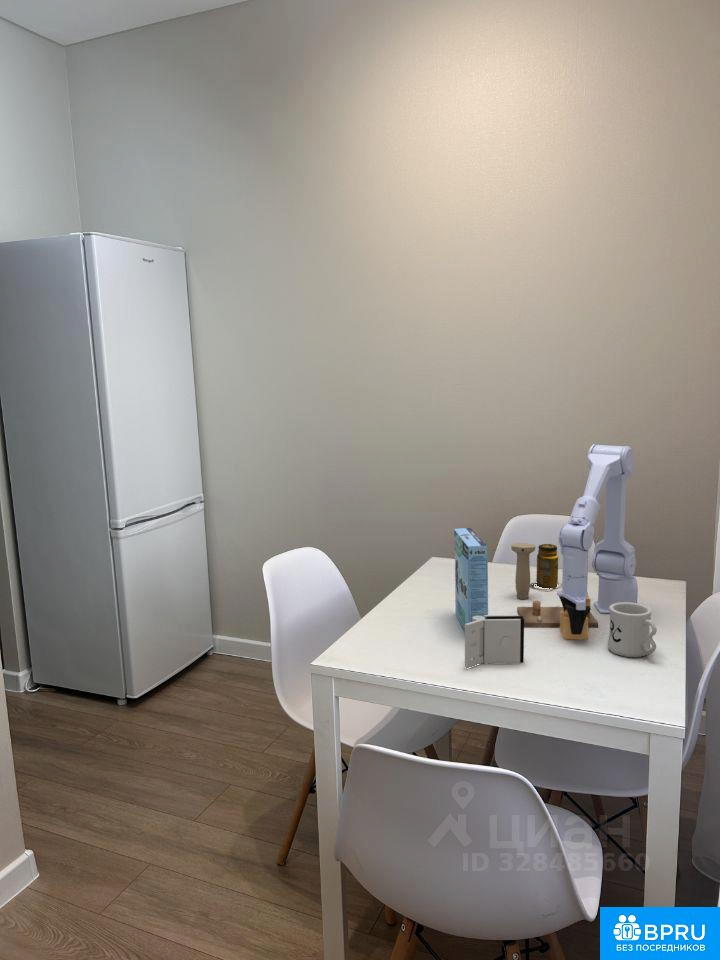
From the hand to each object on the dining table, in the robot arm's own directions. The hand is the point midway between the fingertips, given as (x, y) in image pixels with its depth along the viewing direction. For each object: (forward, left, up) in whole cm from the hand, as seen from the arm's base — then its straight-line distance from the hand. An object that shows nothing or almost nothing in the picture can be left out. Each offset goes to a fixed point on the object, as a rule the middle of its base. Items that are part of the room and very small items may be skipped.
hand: (573, 629), depth 178 cm
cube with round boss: (0, 0, -1) cm, 1 cm away
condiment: (0, -39, -2) cm, 39 cm away
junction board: (+2, -11, -1) cm, 11 cm away
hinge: (+21, +17, -2) cm, 27 cm away
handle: (+8, -28, -2) cm, 29 cm away
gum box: (+24, -6, -2) cm, 25 cm away
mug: (-11, +11, -2) cm, 16 cm away
